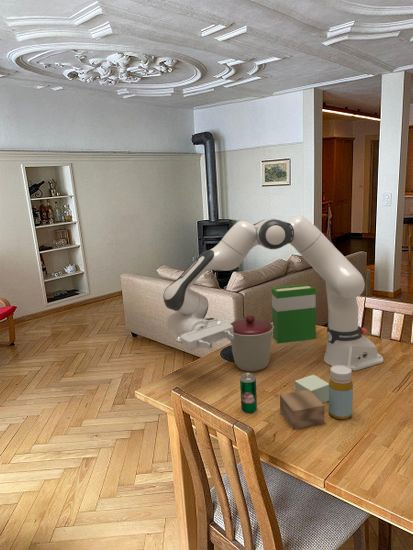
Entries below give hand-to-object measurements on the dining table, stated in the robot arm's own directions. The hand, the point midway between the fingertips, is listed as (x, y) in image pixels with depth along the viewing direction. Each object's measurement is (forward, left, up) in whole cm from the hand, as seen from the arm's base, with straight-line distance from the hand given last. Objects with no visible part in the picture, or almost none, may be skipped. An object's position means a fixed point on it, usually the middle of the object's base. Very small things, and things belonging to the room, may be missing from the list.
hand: (221, 341), depth 137 cm
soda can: (-5, +11, -20) cm, 24 cm away
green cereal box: (-43, -39, -20) cm, 62 cm away
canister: (-16, -19, -20) cm, 32 cm away
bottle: (-31, +22, -20) cm, 43 cm away
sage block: (-27, +11, -20) cm, 36 cm away
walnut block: (-19, +20, -20) cm, 34 cm away
